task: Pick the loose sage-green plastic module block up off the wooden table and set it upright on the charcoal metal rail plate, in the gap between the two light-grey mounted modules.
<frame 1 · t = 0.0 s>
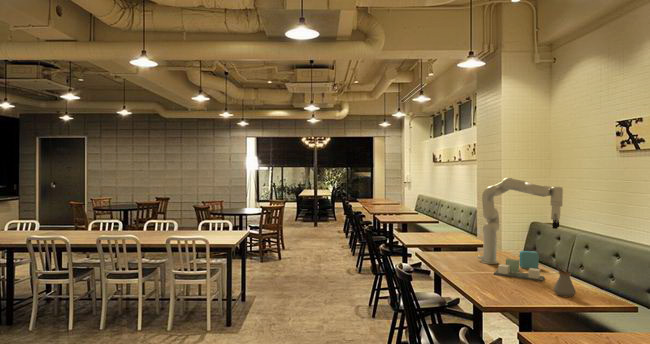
hand: (555, 227, 310), 31 cm above the table, tool pointing down, fingers open, 9 cm apart
data package: (528, 268, 320), on the table
module block: (512, 270, 310), on the table
rail plate: (518, 276, 293), on the table
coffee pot: (561, 293, 257), on the table
mounted modules: (518, 271, 293), point 4 cm above the table
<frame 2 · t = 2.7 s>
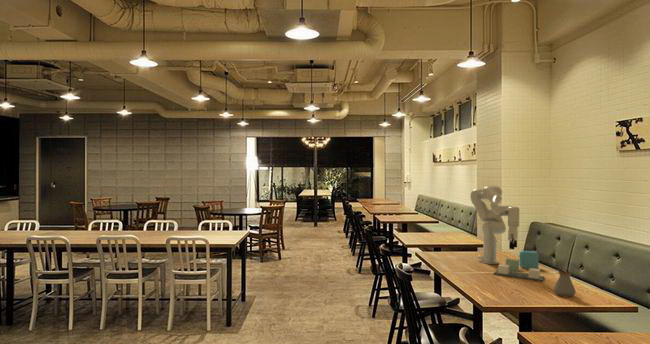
hand: (513, 248, 309), 16 cm above the table, tool pointing down, fingers open, 9 cm apart
nothing on the table moved.
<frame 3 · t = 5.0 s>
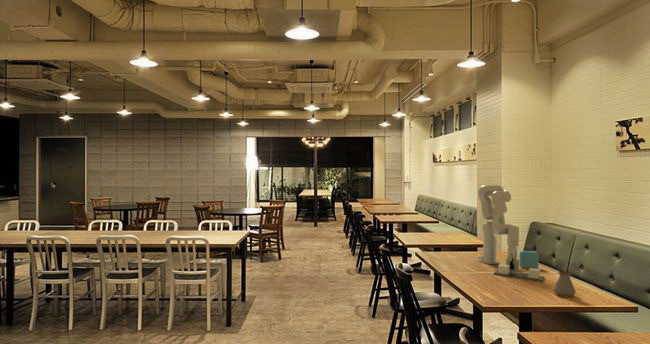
hand: (512, 268, 310), 2 cm above the table, tool pointing down, fingers closed on module block, 4 cm apart
module block: (512, 270, 310), on the table, touching gripper
everything else where it was.
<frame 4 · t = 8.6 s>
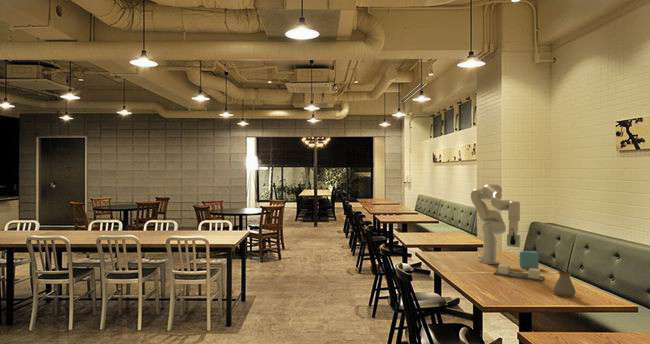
hand: (513, 243, 308), 19 cm above the table, tool pointing down, fingers closed on module block, 4 cm apart
module block: (513, 246, 308), point 18 cm above the table, touching gripper
everything else where it was.
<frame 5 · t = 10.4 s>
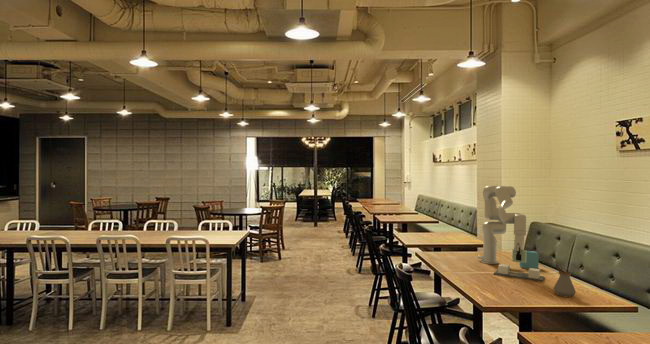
hand: (519, 259, 293), 12 cm above the table, tool pointing down, fingers closed on module block, 4 cm apart
module block: (519, 261, 293), point 10 cm above the table, touching gripper
everything else where it was.
when the fingers open (4 cm above the table, at t = 12.2 s): module block drops 1 cm, resting on rail plate.
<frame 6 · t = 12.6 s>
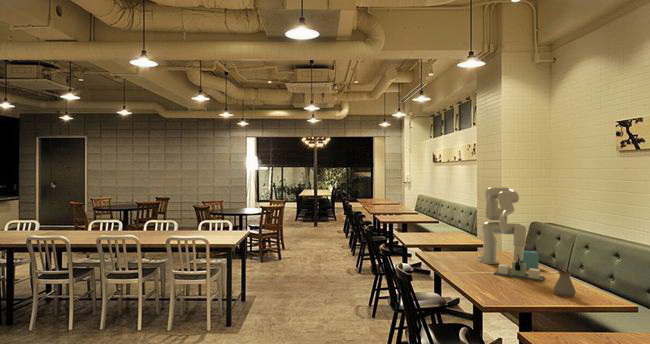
hand: (518, 269, 293), 5 cm above the table, tool pointing down, fingers open, 8 cm apart
module block: (518, 274, 294), point 1 cm above the table, touching rail plate
everything else where it was.
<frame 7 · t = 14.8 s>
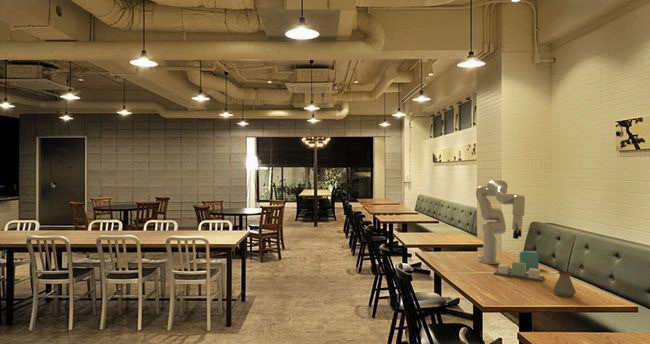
hand: (517, 237, 302), 25 cm above the table, tool pointing down, fingers open, 9 cm apart
nothing on the table moved.
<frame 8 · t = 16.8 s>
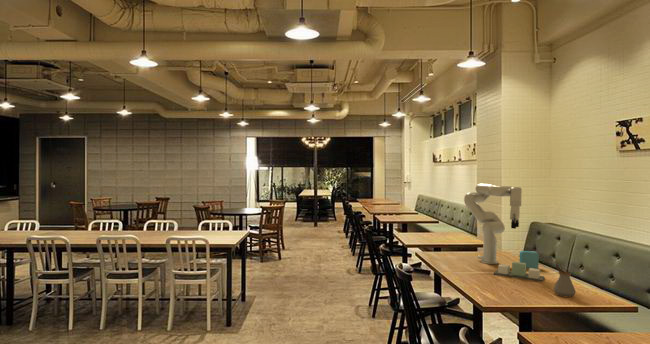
hand: (514, 227, 314), 30 cm above the table, tool pointing down, fingers open, 9 cm apart
nothing on the table moved.
at the end: module block 0.2 cm off-centre on the rail plate, point 1.2 cm above the rail plate's base; module block tilted 0°; the gripper is holding nothing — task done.
